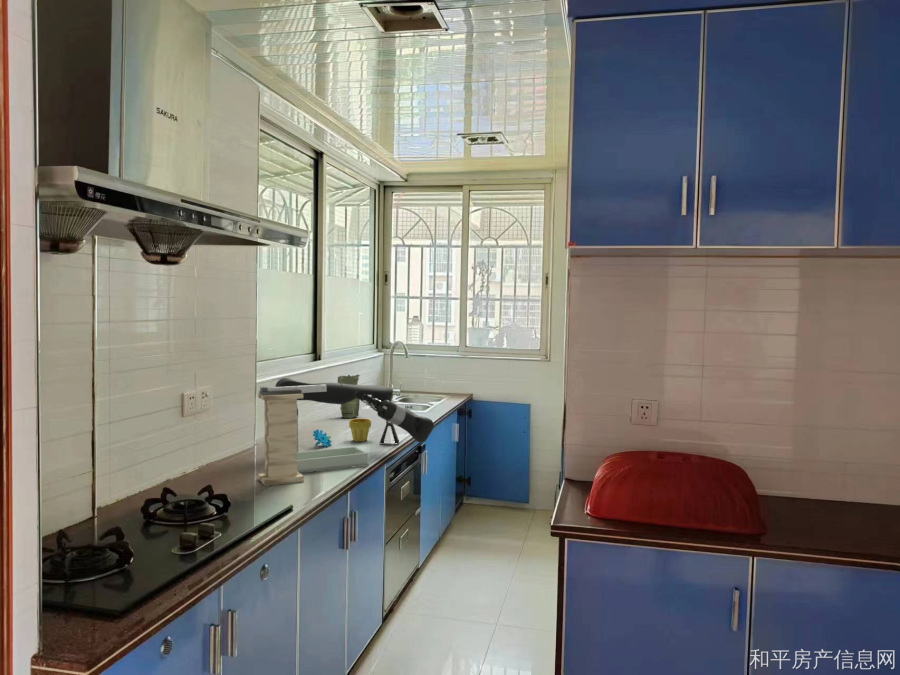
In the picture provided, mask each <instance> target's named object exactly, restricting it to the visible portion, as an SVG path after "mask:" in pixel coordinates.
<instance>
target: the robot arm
mask: <svg viewBox="0 0 900 675" xmlns="http://www.w3.org/2000/svg"><path fill="white" fill-rule="evenodd" d="M305 385H327V392H309V393H302V394H303V398H300V399H297V401H310V402H311V401H312V402H316V403H317V402H318V403H323V404H331V405H341V404H345V403H348V402H350V401H352V400H354V399H356V398H358V399H360V401H361V403H364V404H365V405H366V406H369V407H370V408H371V409H372V410H373V411H375V412H377V417H379V418H381V419H383V420H384V421H385V422H386V421H388V423H392V424H393V425H395V426H397V427H399V428H400V429H402V430H404V431H405V432H407V433H408V434H409V435H410V437H412V438H413V439H414V440H415V441H416V443H426V441H427V440H428V439H429V437H430V435H431V433H432V432H433V430H434V428H435V424H434V422H433V420H432V419H430V418H429V417H425V416H422V415H421V416H420V415H417V414H416V413H414V412H413V411H411V410H410V409H408V408H405V407H401V406H399V405H398V404H396V403H394V402H392V399H393V394H394V391H393V389H392V388H391V387H389V386H386V385H385V386H384V385H375V384H374V385H373V384H372V385H363V384H362V385H360V384H358V385H350V384H342V383H338V382H317V383H311V382H310V383H308V382H302V381H297V380H294V379H292V378H290V377H283V378H280V379H278V380H277V382H276V384H275V386H274V387H286V386H305ZM298 452H299V409H298V407H297V453H298Z"/></svg>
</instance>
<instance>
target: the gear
mask: <svg viewBox="0 0 900 675" xmlns="http://www.w3.org/2000/svg"><path fill="white" fill-rule="evenodd" d="M323 432H324V431H323V430H322V429H320V430H319V429H316V430H314V431H313V434H312V436H313V437H314V439H313V440H315V441H317V442H315V443H314V446H315V445H317V446H318V445H320V444H321V446H322V447H325V448H329V447H331V446H332V440H331V438H332V437H331V435H328V434H327V432H324V433H323ZM327 435H328V436H327Z"/></svg>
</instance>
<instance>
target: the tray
mask: <svg viewBox="0 0 900 675" xmlns="http://www.w3.org/2000/svg"><path fill="white" fill-rule="evenodd" d="M368 456H369V453H368V452H367V451H365V450H363V449H362V448H359V447H357V446H350V447H349V446H348V447H347V446H346V447H337V448H329V449H321V450H320V449H318V450H308V451H298V453H297V471H298V472H299V473H301V474H305V472H307V473H314V471H316V472H321V471H330V470H331V471H332V469H333V470H338V469H339V468H341V469H346V468H345V467H350V468H353V467H352V466H358V467H360V466H359V465H367V466H369V463H368V462H369V457H368Z"/></svg>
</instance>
